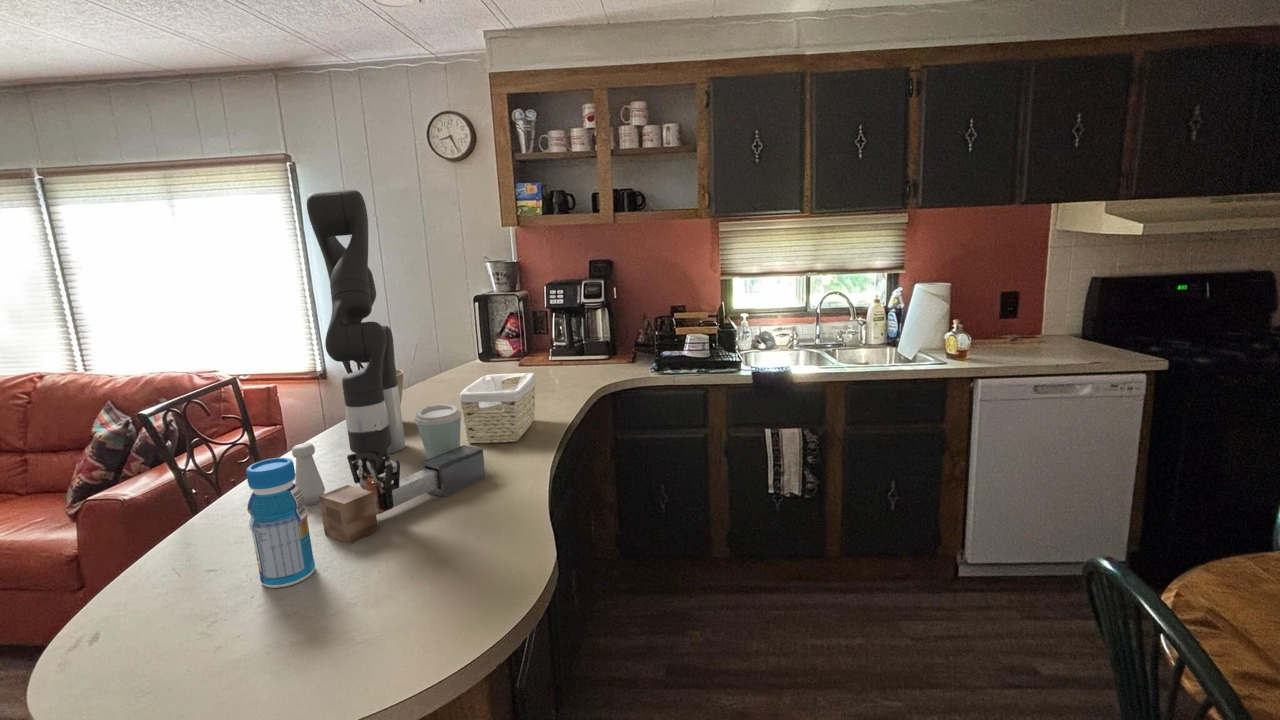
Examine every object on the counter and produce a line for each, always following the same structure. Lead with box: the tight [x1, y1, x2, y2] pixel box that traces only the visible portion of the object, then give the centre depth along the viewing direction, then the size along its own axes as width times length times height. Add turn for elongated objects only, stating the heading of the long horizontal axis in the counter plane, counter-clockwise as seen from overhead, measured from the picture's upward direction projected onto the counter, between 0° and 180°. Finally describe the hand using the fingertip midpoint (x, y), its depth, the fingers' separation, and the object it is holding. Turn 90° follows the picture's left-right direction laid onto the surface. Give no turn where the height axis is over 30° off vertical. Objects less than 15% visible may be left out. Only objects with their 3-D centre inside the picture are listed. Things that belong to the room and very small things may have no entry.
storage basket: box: [459, 372, 536, 444], centre depth 181 cm, size 24×16×15 cm
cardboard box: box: [319, 484, 379, 545], centre depth 122 cm, size 6×8×8 cm
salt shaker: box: [291, 442, 326, 507], centre depth 137 cm, size 6×6×13 cm
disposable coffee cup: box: [414, 403, 462, 460], centre depth 153 cm, size 11×11×15 cm
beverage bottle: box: [245, 457, 316, 589], centre depth 106 cm, size 8×8×20 cm
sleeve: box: [421, 444, 486, 498], centre depth 143 cm, size 12×6×7 cm, turn 147°
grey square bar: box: [363, 467, 441, 516], centre depth 131 cm, size 21×4×6 cm, turn 147°
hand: (379, 506), depth 128 cm, fingers open, 4 cm apart
